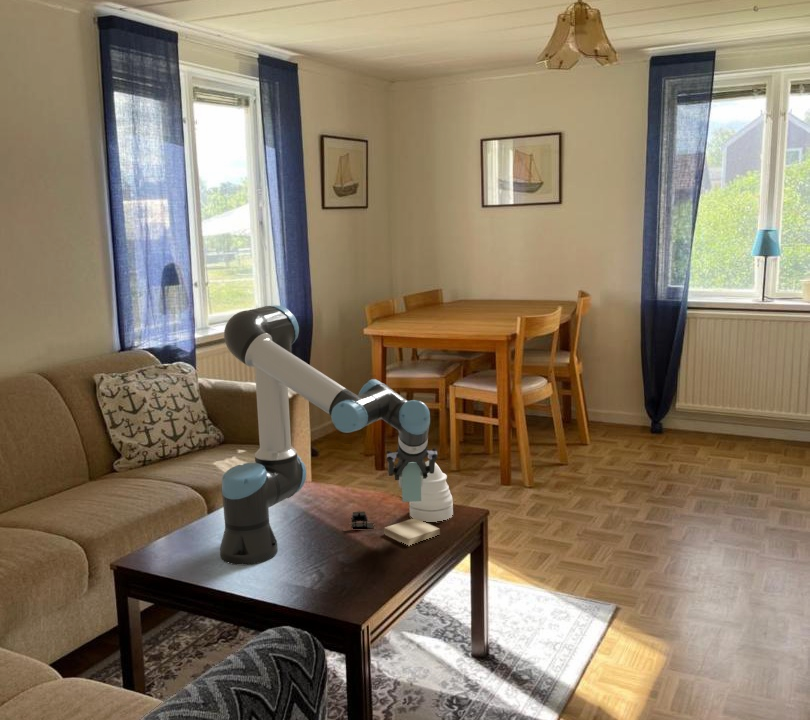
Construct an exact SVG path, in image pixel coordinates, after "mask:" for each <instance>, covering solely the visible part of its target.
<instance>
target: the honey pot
mask: <svg viewBox="0 0 810 720" xmlns="http://www.w3.org/2000/svg"><path fill="white" fill-rule="evenodd" d="M427 458H428V459H429V456H427ZM424 462H425V464H426V466H429V460H427V461H424ZM427 476H428V477H427V478H426V479H423V482H422V486H421V501H414V502H408V503H409V517H410V516H411V517H412V518H416V519H419V520H421V521H426V522H436V523H438V522H437V521H442V522H444V521H443V520H446V521H448V520H450V519H452V517H453V516H454V504H453V503H454V502H453V495H452V494H451V490H450V487H449V484H448V483H447V478H448V475H447V474H446V473H444V472H443V471H442V470H441V468H440V466H439V465H438V464H437V463H436V462H435V467H434V473H433V474H431V473H430V472H429V473H427ZM452 515H453V516H452ZM411 517H410V518H411ZM412 518H411V519H412ZM449 518H450V519H449ZM447 519H448V520H447Z"/></svg>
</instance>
